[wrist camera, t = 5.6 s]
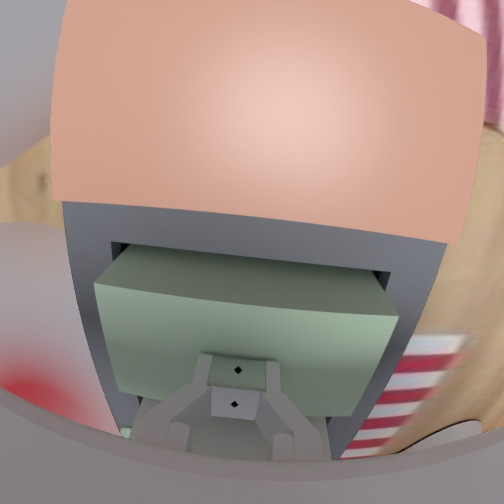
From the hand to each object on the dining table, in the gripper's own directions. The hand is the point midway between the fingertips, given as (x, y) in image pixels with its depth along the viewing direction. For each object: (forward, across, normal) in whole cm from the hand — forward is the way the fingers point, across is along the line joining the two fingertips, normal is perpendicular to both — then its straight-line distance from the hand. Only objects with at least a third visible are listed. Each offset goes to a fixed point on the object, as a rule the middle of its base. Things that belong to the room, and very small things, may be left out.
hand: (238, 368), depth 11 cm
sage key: (+5, 0, 0) cm, 5 cm away
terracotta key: (+3, 0, -10) cm, 10 cm away
